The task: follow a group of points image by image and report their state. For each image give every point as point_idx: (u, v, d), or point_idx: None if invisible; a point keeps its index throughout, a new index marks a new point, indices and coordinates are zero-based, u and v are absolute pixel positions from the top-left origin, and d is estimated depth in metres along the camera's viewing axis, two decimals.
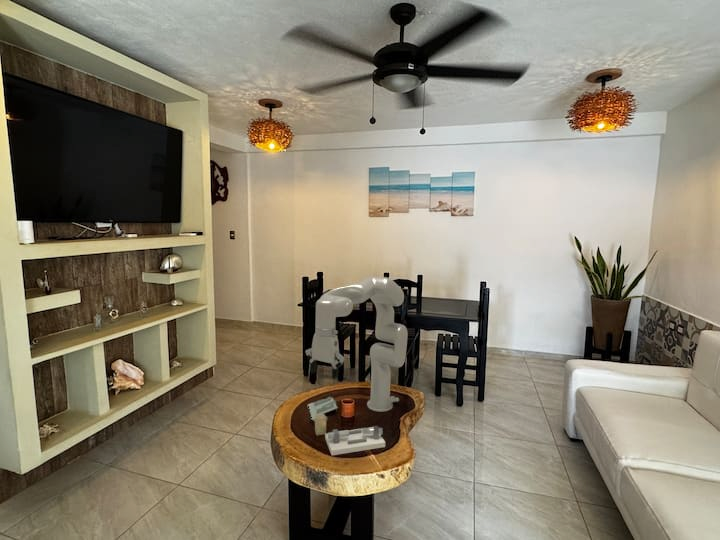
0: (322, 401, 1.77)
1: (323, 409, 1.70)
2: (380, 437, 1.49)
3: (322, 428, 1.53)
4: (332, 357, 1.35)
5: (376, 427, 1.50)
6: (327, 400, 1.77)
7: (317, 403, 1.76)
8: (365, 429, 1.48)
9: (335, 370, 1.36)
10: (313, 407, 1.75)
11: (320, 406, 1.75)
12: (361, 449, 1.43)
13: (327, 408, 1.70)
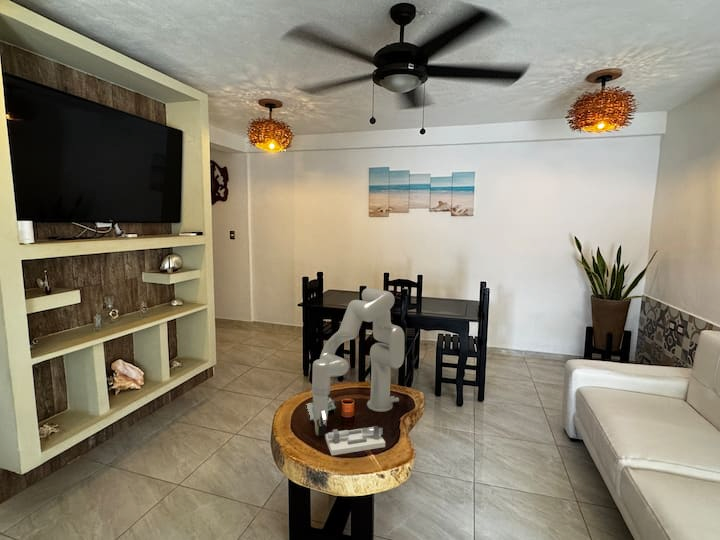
0: None
1: None
2: (380, 437, 1.49)
3: None
4: None
5: (376, 427, 1.50)
6: None
7: None
8: (365, 429, 1.48)
9: None
10: (311, 407, 1.75)
11: None
12: (361, 449, 1.43)
13: None
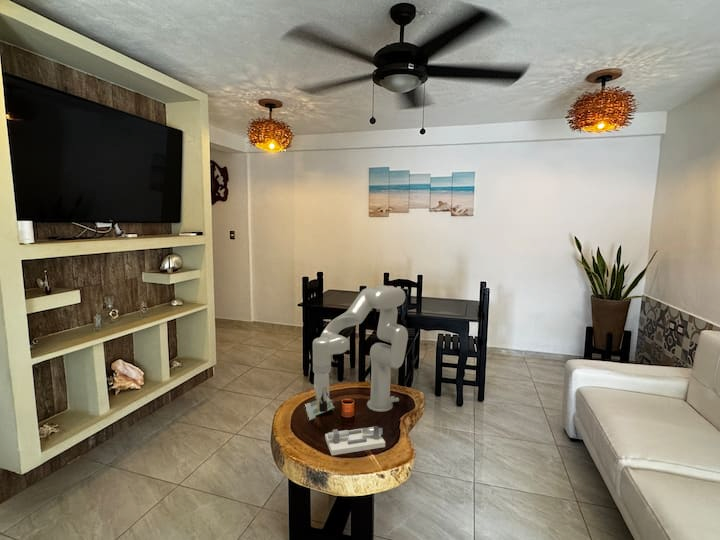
0: None
1: None
2: (380, 437, 1.49)
3: None
4: None
5: (376, 427, 1.50)
6: None
7: (314, 403, 1.76)
8: (365, 429, 1.48)
9: None
10: (310, 407, 1.75)
11: None
12: (361, 449, 1.43)
13: None
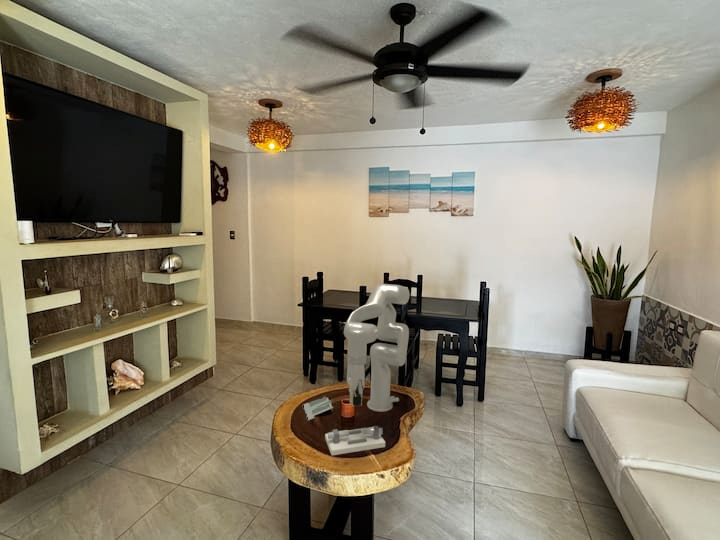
0: (317, 401, 1.77)
1: (319, 409, 1.70)
2: (380, 437, 1.49)
3: None
4: None
5: (376, 427, 1.50)
6: (322, 400, 1.77)
7: (312, 403, 1.76)
8: (365, 429, 1.48)
9: None
10: (308, 407, 1.75)
11: (315, 406, 1.74)
12: (361, 449, 1.43)
13: (323, 408, 1.70)
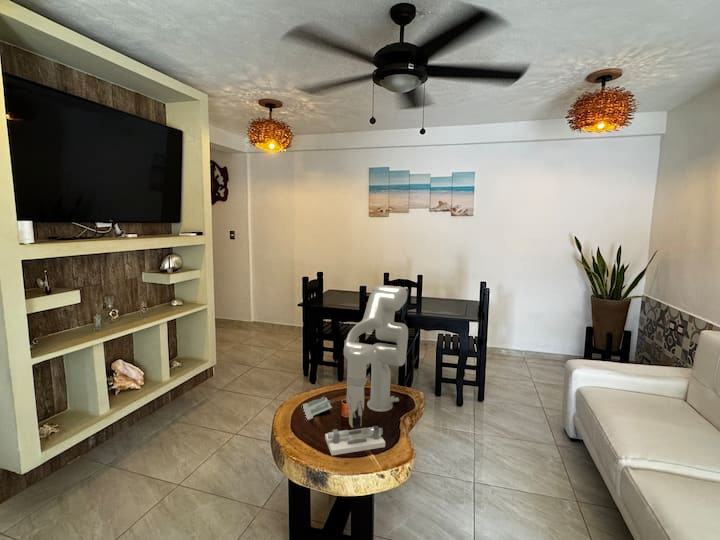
0: (316, 401, 1.76)
1: (317, 409, 1.69)
2: (380, 437, 1.49)
3: None
4: None
5: (376, 427, 1.50)
6: (321, 400, 1.77)
7: (311, 403, 1.76)
8: (365, 429, 1.48)
9: None
10: (307, 407, 1.75)
11: (314, 406, 1.74)
12: (361, 449, 1.43)
13: (321, 408, 1.70)
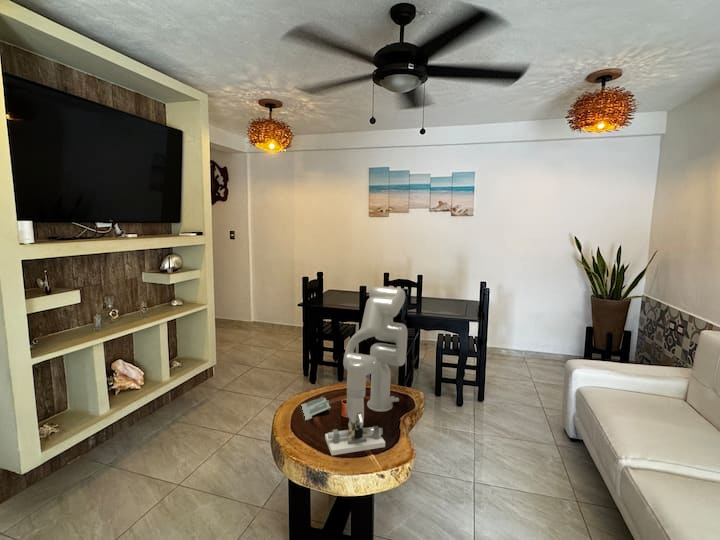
0: (315, 401, 1.76)
1: (316, 409, 1.69)
2: (380, 437, 1.49)
3: None
4: None
5: (376, 427, 1.50)
6: (320, 400, 1.77)
7: (310, 403, 1.76)
8: (365, 429, 1.48)
9: None
10: (306, 407, 1.74)
11: (313, 406, 1.74)
12: (361, 449, 1.43)
13: (320, 408, 1.70)
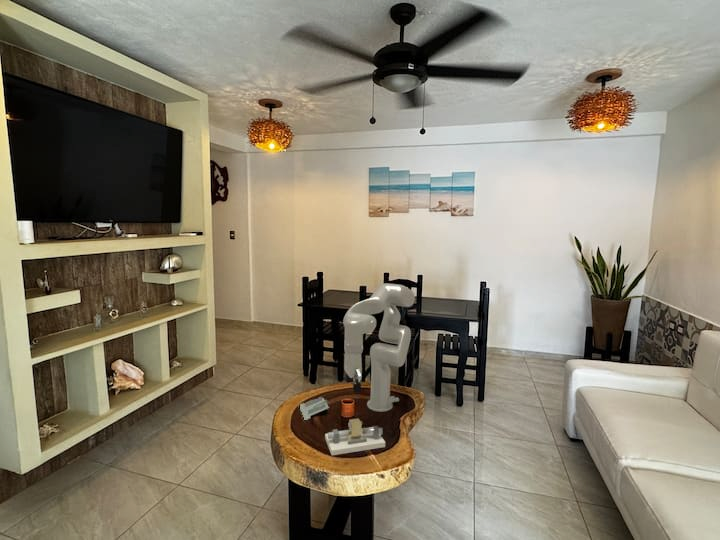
0: (313, 401, 1.76)
1: (315, 409, 1.69)
2: (380, 437, 1.49)
3: (358, 433, 1.46)
4: None
5: (376, 427, 1.50)
6: (318, 400, 1.77)
7: (308, 403, 1.76)
8: (365, 429, 1.48)
9: None
10: (304, 408, 1.74)
11: (311, 406, 1.74)
12: (361, 449, 1.43)
13: (319, 408, 1.70)
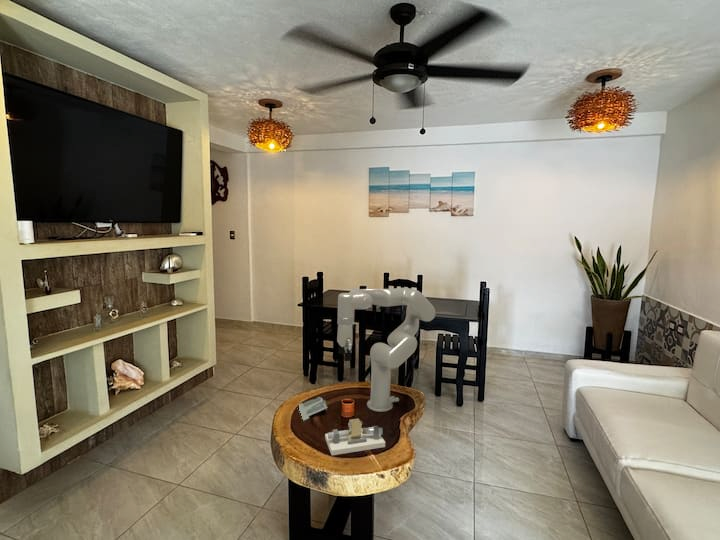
0: (311, 401, 1.76)
1: (313, 409, 1.69)
2: (380, 437, 1.49)
3: (358, 433, 1.46)
4: None
5: (376, 427, 1.50)
6: (316, 400, 1.77)
7: (306, 404, 1.75)
8: (365, 429, 1.48)
9: None
10: (303, 408, 1.74)
11: (310, 406, 1.74)
12: (361, 449, 1.43)
13: (317, 408, 1.70)
